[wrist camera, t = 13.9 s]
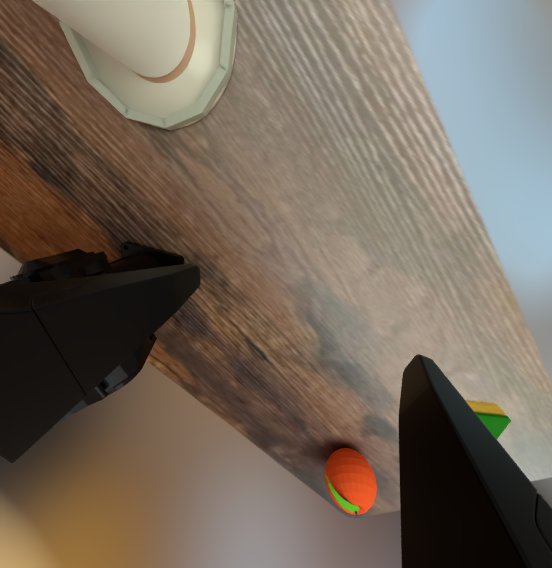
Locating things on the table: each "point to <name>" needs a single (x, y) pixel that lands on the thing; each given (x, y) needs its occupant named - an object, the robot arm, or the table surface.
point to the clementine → (350, 481)
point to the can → (130, 30)
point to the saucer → (177, 84)
